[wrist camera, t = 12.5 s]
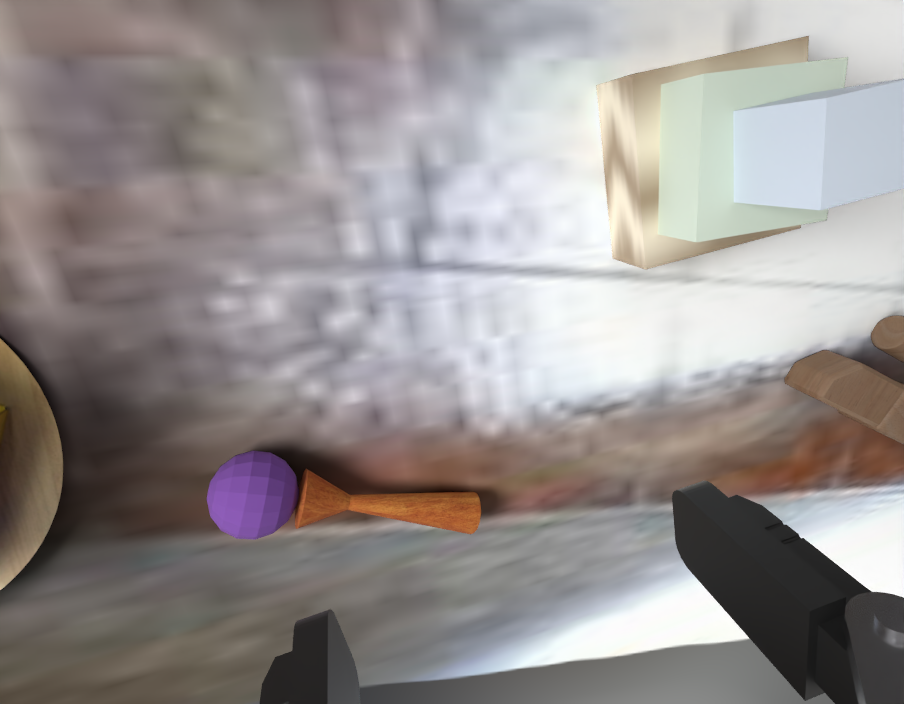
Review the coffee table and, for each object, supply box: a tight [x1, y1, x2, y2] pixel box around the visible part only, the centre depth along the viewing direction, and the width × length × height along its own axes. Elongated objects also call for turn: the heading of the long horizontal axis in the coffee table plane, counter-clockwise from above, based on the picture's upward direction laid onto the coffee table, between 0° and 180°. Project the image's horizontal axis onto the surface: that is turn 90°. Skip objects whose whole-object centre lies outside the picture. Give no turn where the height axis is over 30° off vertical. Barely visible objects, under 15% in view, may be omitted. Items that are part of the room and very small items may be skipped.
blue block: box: [733, 79, 904, 210], centre depth 27 cm, size 5×5×6 cm
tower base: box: [596, 36, 809, 269], centre depth 36 cm, size 12×12×5 cm
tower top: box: [658, 57, 848, 242], centre depth 32 cm, size 9×9×4 cm
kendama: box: [207, 451, 481, 539], centre depth 40 cm, size 6×6×20 cm
